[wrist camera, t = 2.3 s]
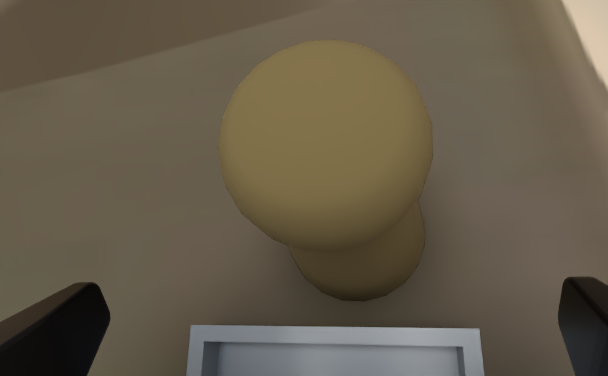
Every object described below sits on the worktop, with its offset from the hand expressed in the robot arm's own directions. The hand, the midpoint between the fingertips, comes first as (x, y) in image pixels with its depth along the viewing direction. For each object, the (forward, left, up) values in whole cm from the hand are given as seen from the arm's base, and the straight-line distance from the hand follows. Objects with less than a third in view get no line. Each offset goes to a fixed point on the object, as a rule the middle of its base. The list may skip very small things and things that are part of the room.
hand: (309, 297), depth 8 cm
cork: (+4, 0, -11) cm, 11 cm away
